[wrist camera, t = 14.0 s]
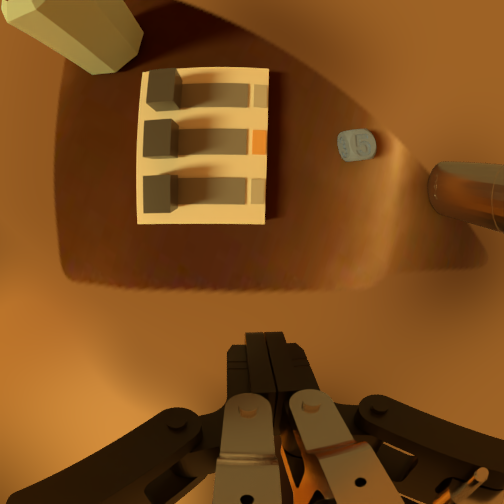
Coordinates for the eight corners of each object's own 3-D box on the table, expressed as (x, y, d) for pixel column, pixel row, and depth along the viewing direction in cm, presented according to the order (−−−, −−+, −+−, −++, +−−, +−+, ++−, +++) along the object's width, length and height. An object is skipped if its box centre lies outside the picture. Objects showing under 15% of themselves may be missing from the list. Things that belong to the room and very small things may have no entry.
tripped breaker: (179, 125, 30) (171, 118, 26) (177, 158, 31) (170, 155, 27) (154, 127, 30) (144, 120, 25) (153, 159, 31) (142, 157, 26)
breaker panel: (266, 75, 32) (269, 67, 29) (262, 220, 37) (265, 224, 34) (147, 78, 30) (141, 71, 28) (143, 220, 36) (136, 224, 33)
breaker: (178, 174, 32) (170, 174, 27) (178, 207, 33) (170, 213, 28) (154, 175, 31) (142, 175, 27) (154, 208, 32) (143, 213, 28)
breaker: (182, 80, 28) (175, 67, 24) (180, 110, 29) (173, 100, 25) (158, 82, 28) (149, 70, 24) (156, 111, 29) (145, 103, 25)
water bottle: (141, 14, 27) (80, -89, 3) (151, 61, 30) (70, -46, 6) (83, 40, 27) (-9, -30, 3) (88, 89, 30) (-31, 32, 6)
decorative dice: (360, 131, 35) (373, 127, 31) (365, 158, 36) (379, 157, 32) (334, 134, 35) (346, 130, 31) (340, 162, 36) (352, 161, 32)
